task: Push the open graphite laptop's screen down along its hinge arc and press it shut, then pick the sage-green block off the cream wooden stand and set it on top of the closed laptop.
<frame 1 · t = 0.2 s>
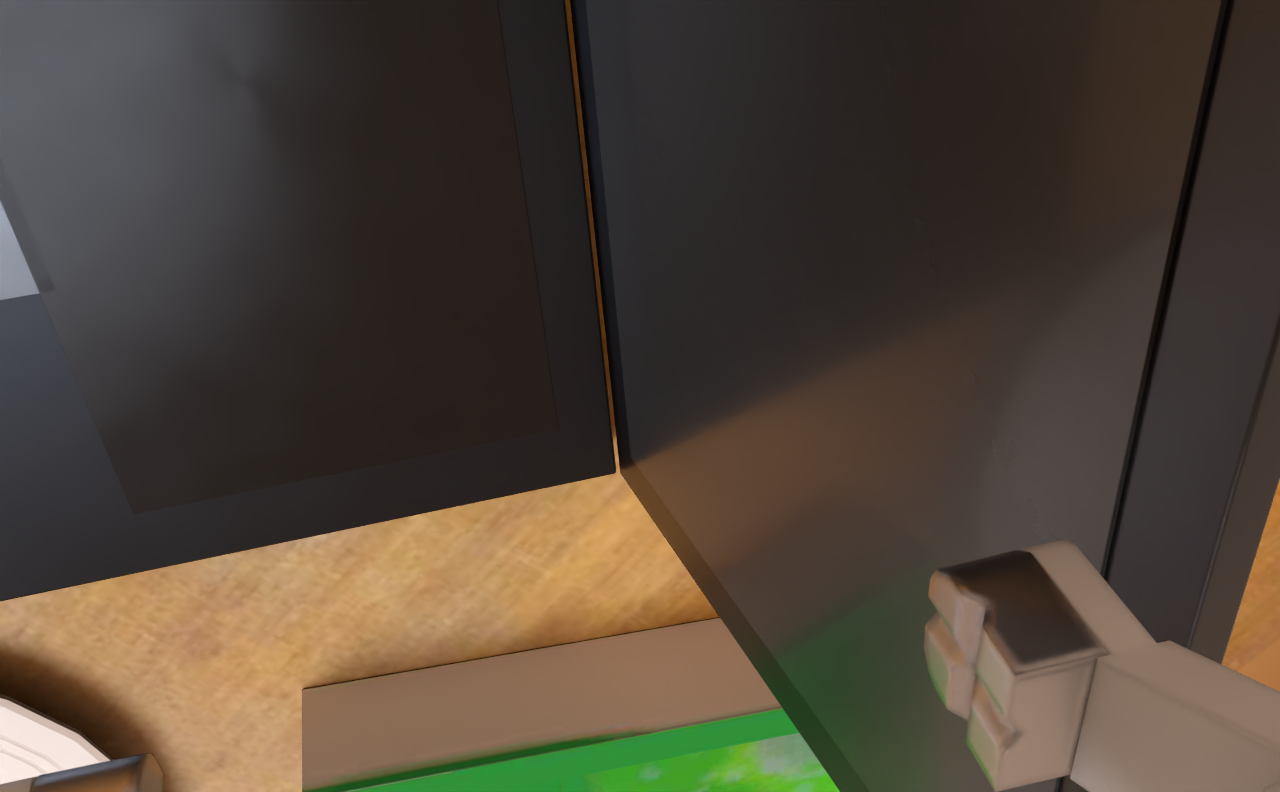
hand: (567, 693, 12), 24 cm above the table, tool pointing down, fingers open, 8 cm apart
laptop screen: (791, 182, 23), point 13 cm above the table, hinge at 100.0°
laptop: (143, 72, 31), on the table
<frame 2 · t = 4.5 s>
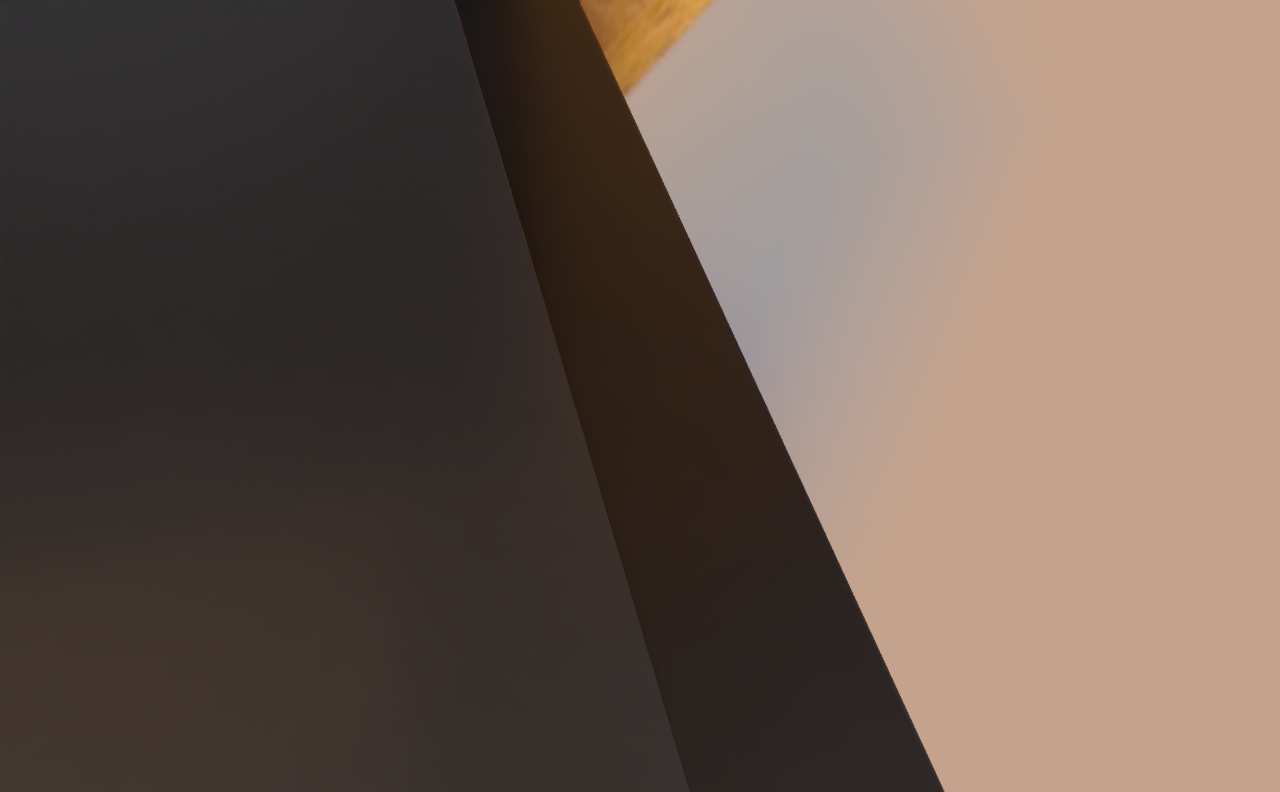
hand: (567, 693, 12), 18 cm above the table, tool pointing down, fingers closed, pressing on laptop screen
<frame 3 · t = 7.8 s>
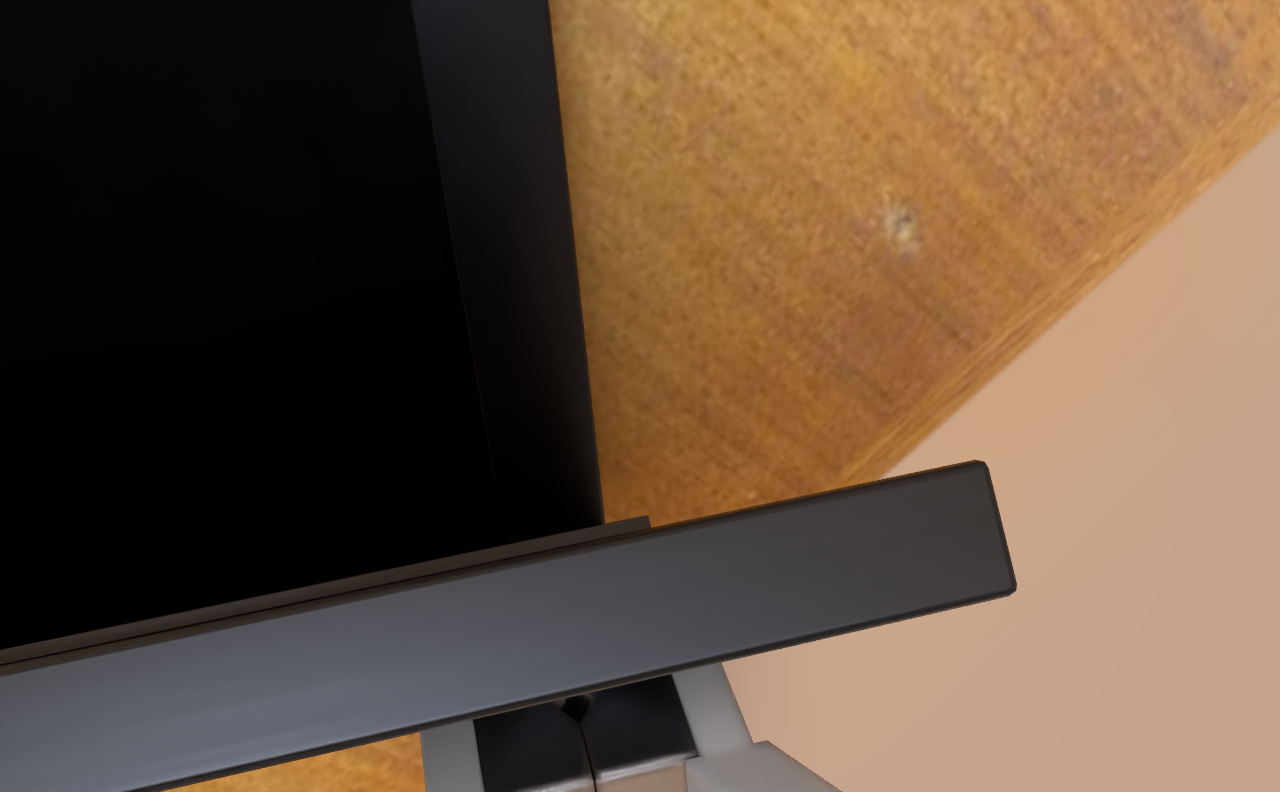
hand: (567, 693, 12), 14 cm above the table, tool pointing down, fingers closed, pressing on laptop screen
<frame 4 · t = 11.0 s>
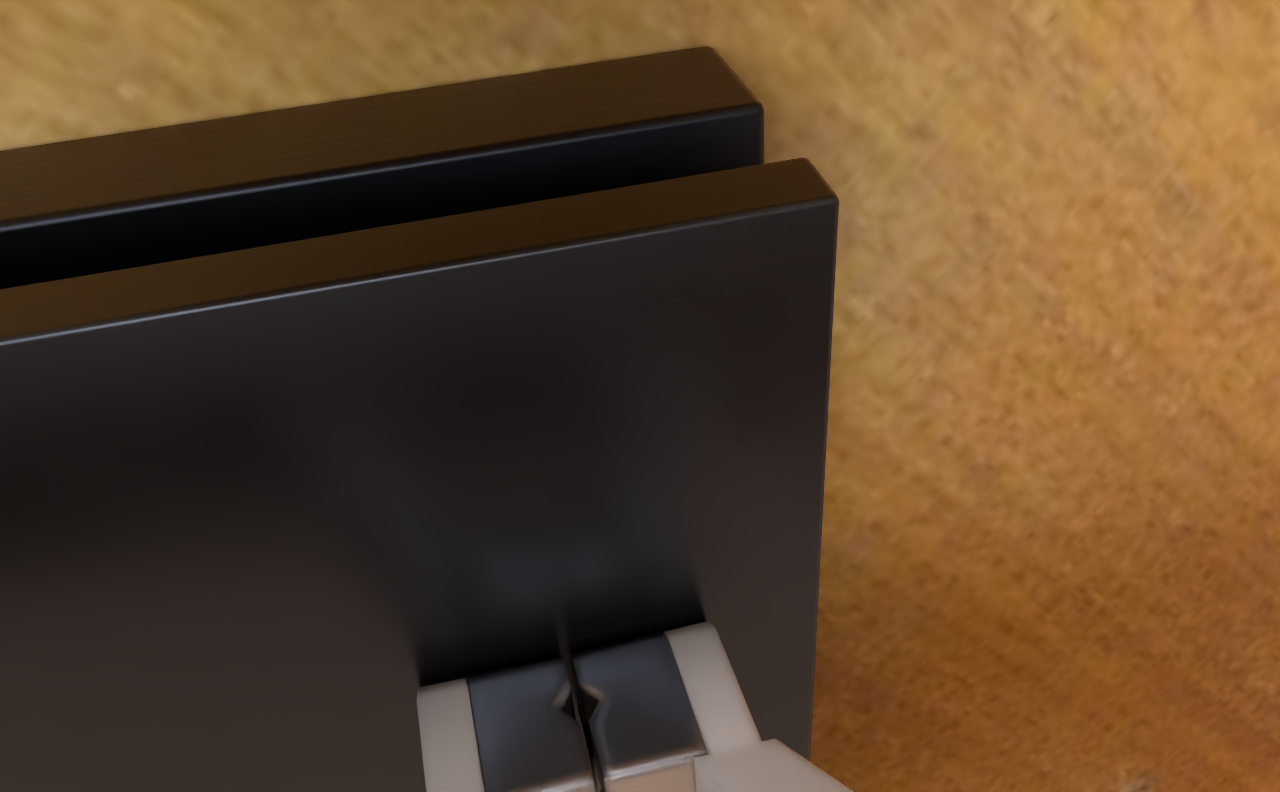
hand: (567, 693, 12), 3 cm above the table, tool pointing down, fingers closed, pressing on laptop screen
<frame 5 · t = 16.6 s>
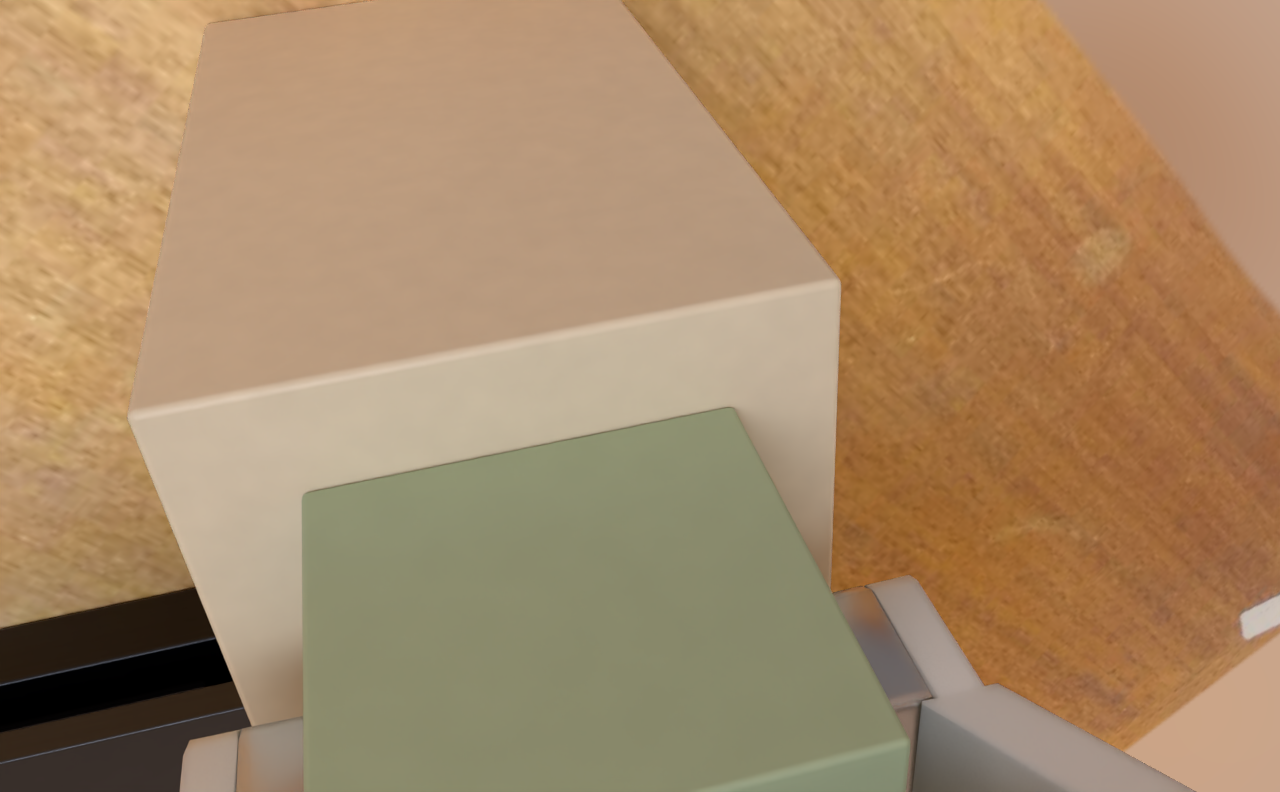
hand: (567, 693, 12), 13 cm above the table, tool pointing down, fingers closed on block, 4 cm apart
block: (548, 602, 13), point 12 cm above the table, touching gripper, stand
stand: (439, 175, 23), on the table
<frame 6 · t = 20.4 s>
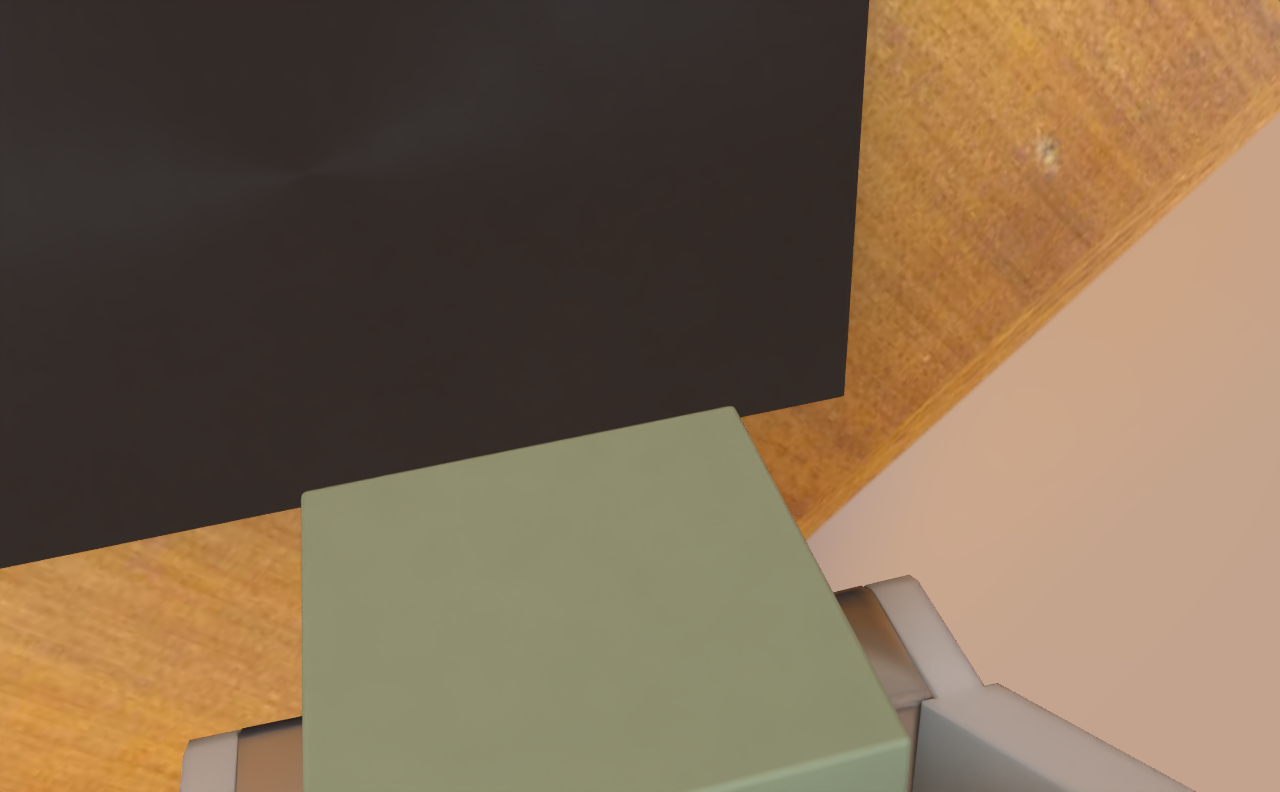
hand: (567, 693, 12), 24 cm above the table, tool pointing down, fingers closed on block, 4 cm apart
block: (548, 601, 13), point 23 cm above the table, touching gripper
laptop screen: (306, 164, 30), point 3 cm above the table, hinge at 3.2°, touching laptop
when the fingers open (5 cm above the table, at t = 24.7 s): block stays where it is, resting on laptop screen.
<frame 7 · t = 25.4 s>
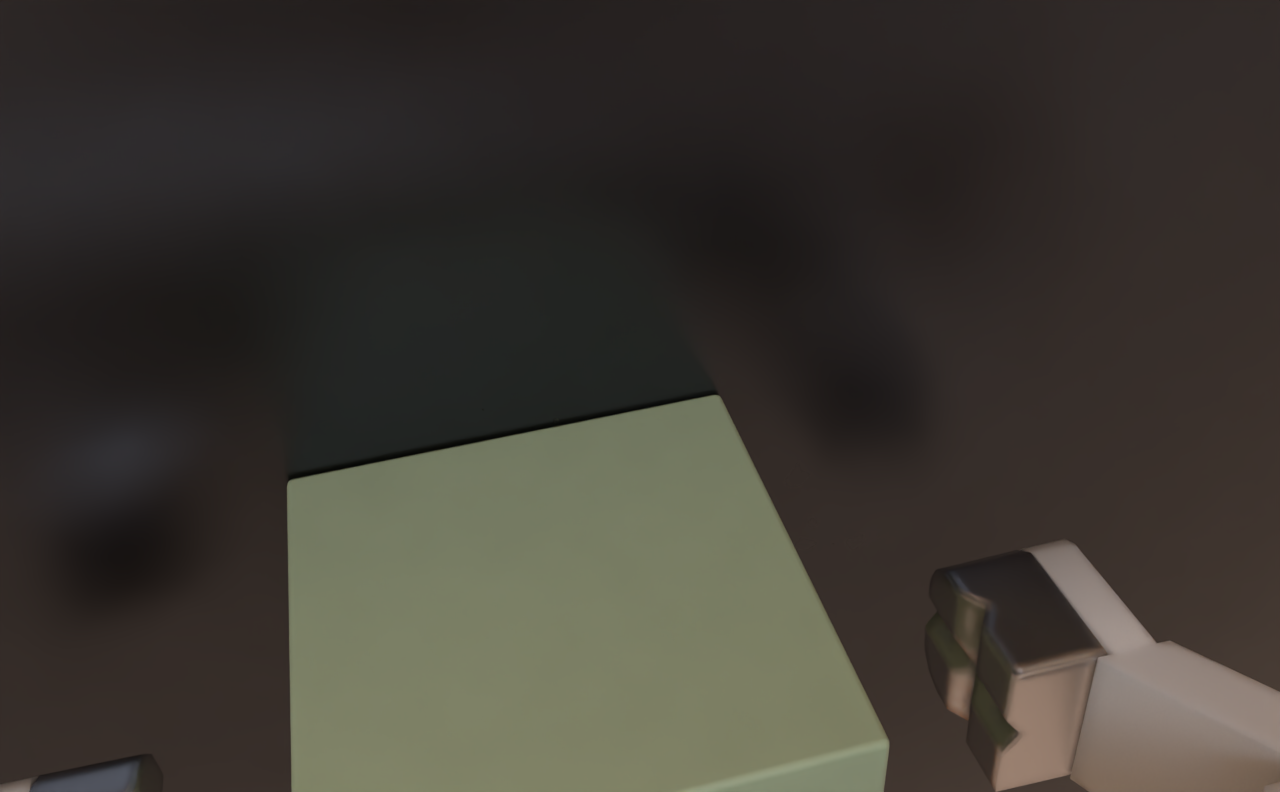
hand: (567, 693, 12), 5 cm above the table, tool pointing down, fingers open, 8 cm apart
block: (533, 582, 13), point 3 cm above the table, touching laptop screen
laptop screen: (310, 727, 15), point 3 cm above the table, hinge at 3.2°, touching block, laptop
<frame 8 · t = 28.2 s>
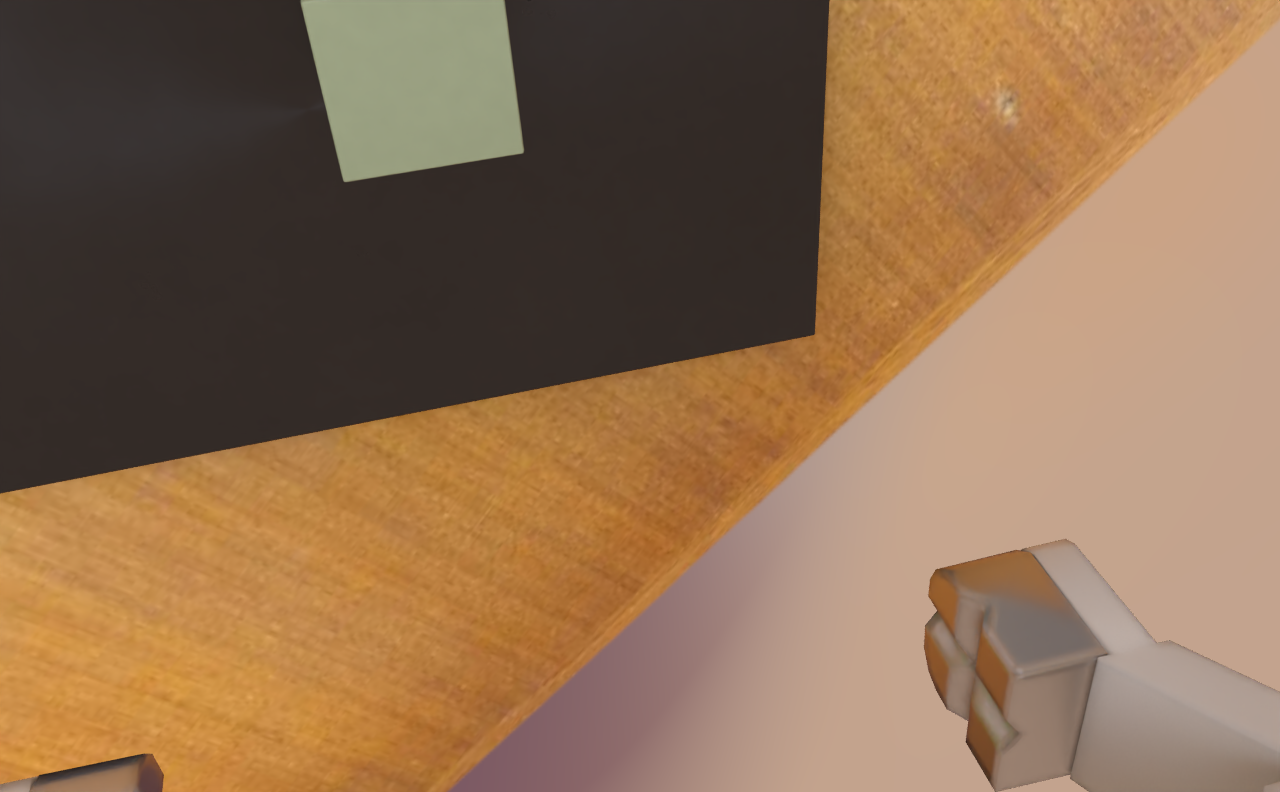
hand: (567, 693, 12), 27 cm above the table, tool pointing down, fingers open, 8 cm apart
block: (403, 15, 31), point 3 cm above the table, touching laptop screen
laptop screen: (307, 102, 32), point 3 cm above the table, hinge at 3.2°, touching block, laptop
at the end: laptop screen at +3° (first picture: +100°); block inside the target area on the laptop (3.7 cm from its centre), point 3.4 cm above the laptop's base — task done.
